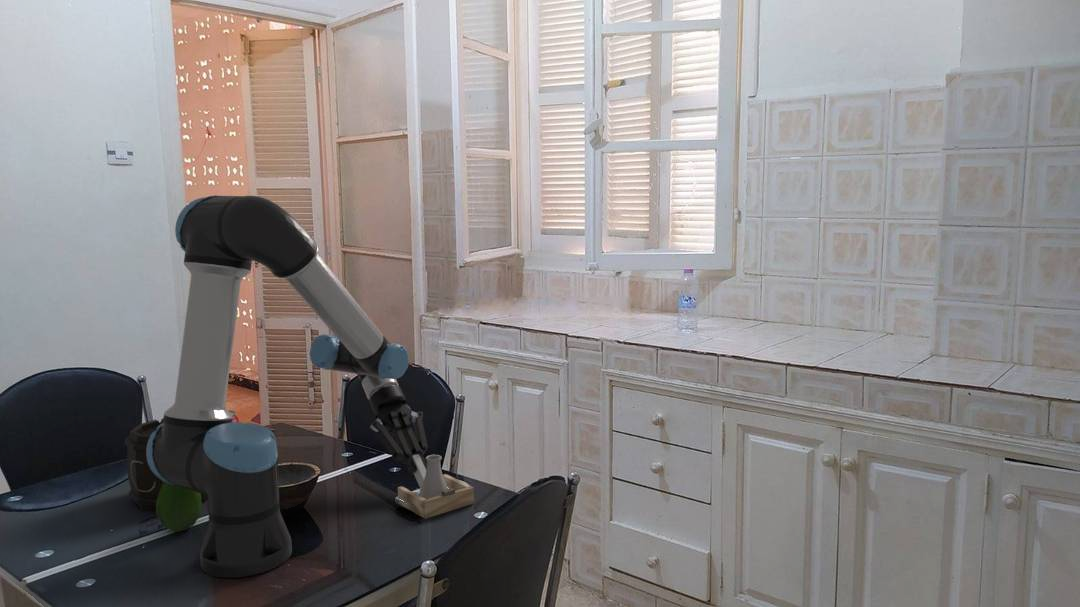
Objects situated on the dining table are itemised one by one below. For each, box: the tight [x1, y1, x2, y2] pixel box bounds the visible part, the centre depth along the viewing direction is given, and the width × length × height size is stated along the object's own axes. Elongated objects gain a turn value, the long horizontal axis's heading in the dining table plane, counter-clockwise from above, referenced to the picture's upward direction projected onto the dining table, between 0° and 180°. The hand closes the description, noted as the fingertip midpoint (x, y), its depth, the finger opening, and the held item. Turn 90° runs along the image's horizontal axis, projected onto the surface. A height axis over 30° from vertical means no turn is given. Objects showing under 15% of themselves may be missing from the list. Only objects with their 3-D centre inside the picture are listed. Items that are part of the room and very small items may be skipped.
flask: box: [418, 454, 448, 499], centre depth 158 cm, size 7×7×10 cm
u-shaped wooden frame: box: [397, 473, 475, 520], centre depth 158 cm, size 11×12×4 cm
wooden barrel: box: [124, 417, 208, 512], centre depth 162 cm, size 18×18×16 cm
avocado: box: [155, 481, 202, 533], centre depth 145 cm, size 8×8×12 cm
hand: (425, 483), depth 161 cm, fingers closed
